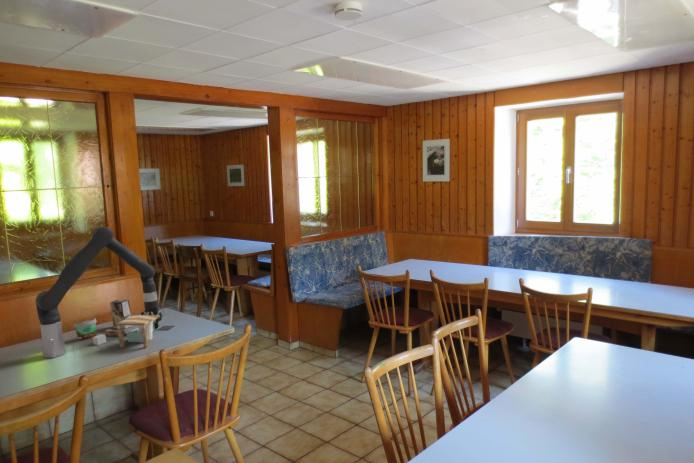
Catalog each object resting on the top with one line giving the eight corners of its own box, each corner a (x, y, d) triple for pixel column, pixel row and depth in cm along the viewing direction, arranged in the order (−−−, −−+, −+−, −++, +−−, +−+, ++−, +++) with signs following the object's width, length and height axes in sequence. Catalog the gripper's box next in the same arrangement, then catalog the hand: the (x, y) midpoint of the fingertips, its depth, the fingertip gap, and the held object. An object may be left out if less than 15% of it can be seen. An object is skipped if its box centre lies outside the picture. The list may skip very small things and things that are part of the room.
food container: (80, 342, 273) (78, 324, 272) (75, 340, 277) (73, 323, 276) (102, 335, 283) (100, 318, 281) (97, 333, 286) (95, 317, 285)
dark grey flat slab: (168, 330, 284) (168, 329, 284) (157, 330, 286) (157, 329, 286) (174, 326, 291) (174, 325, 291) (163, 326, 292) (163, 325, 292)
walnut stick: (124, 335, 281) (124, 330, 281) (121, 336, 279) (121, 331, 278) (108, 334, 285) (107, 329, 285) (105, 335, 283) (104, 330, 282)
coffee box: (133, 325, 298) (129, 299, 296) (125, 328, 292) (122, 302, 290) (120, 325, 301) (117, 299, 299) (112, 328, 295) (109, 302, 293)
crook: (147, 342, 265) (145, 333, 264) (128, 341, 268) (126, 333, 267) (171, 328, 286) (170, 320, 285) (154, 328, 289) (152, 320, 289)
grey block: (98, 345, 266) (97, 338, 266) (93, 344, 268) (92, 337, 268) (106, 342, 271) (105, 334, 270) (101, 341, 273) (100, 334, 272)
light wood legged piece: (147, 347, 256) (144, 323, 255) (119, 347, 259) (116, 323, 258) (162, 338, 270) (159, 315, 269) (136, 338, 273) (133, 315, 272)
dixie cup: (150, 341, 266) (147, 323, 265) (135, 341, 267) (133, 323, 266) (157, 336, 274) (155, 318, 273) (143, 336, 275) (141, 319, 274)
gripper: (135, 301, 283) (139, 330, 285) (157, 301, 280) (161, 330, 282) (143, 298, 290) (146, 326, 292) (165, 297, 287) (168, 326, 289)
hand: (153, 328), depth 287 cm, fingers closed on crook, 3 cm apart
